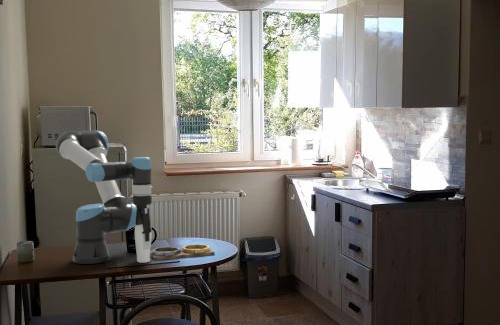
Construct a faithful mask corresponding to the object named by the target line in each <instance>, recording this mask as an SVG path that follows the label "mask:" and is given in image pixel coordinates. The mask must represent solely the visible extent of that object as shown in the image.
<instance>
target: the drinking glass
mask: <svg viewBox="0 0 500 325" xmlns="http://www.w3.org/2000/svg"><path fill="white" fill-rule="evenodd" d="M142 231H143V225H135V227H134V240H135V241H134V242H135V251H136V261H137V262H138V263H140V264H143V263H144V264H146V263H149V262H150V261H151V256H150V251H151V250H152V249H151V248H152V247H151V246H152V231H151V232H150V249H146V250H144V249H143V234H142Z"/></svg>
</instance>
